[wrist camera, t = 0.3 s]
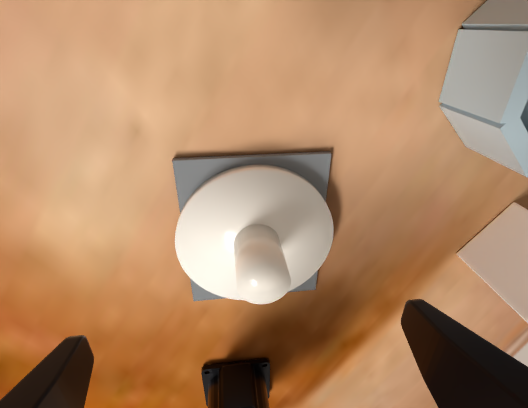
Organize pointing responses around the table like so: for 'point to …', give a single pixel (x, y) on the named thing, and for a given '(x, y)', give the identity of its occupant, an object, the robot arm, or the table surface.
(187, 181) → the mat
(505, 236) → the milk
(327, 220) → the lid
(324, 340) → the table surface
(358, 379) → the table surface
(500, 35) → the bowl
